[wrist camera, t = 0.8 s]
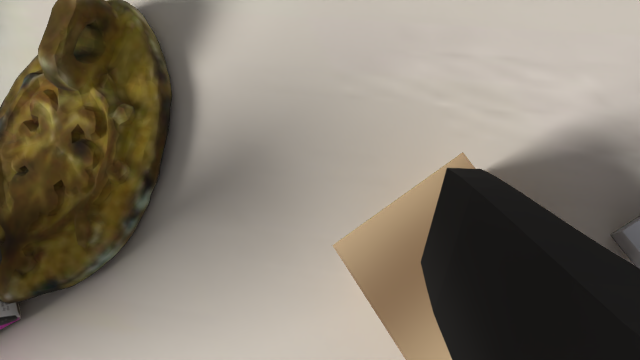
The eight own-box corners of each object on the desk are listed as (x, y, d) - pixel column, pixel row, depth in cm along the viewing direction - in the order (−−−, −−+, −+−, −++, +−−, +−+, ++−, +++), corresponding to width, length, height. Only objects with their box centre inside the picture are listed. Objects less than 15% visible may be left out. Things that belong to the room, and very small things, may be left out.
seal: (116, 336, 27) (218, 34, 28) (55, 354, 23) (179, -8, 23) (-48, 271, 29) (52, -11, 30) (-136, 277, 24) (-15, -58, 25)
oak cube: (558, 286, 21) (569, 292, 16) (443, 359, 22) (422, 386, 17) (474, 175, 22) (462, 152, 18) (369, 248, 23) (332, 245, 19)
